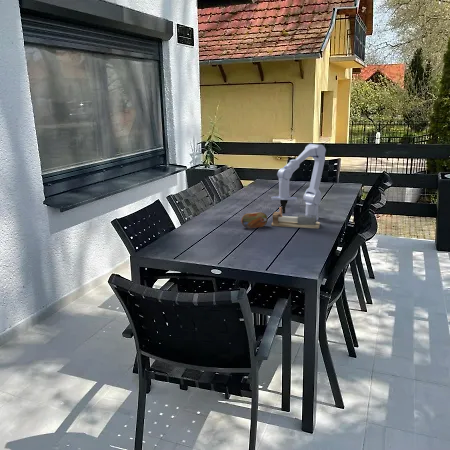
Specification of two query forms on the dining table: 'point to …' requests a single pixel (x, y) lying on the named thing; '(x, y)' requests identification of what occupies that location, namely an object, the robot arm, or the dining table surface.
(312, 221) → the grey rectangular sleeve
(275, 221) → the socket block
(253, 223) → the tin
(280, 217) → the white bar
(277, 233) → the dining table surface
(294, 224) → the base board
